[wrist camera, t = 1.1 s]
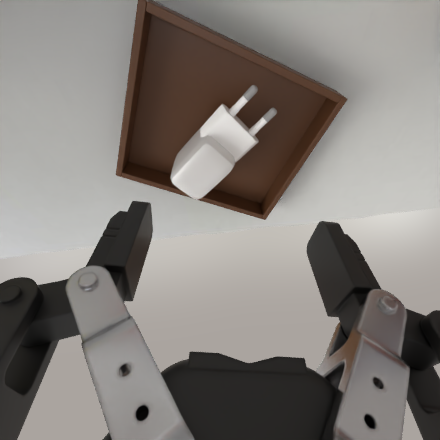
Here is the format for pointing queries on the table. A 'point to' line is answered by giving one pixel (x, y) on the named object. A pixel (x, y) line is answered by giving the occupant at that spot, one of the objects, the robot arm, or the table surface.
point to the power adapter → (216, 148)
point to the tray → (209, 102)
